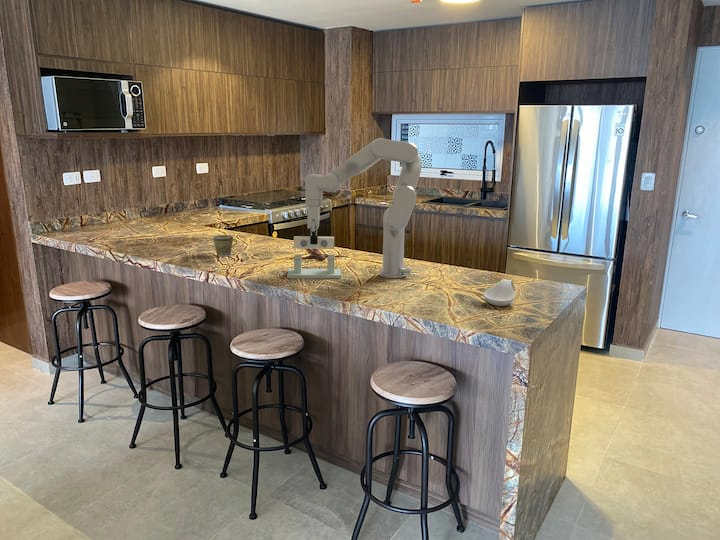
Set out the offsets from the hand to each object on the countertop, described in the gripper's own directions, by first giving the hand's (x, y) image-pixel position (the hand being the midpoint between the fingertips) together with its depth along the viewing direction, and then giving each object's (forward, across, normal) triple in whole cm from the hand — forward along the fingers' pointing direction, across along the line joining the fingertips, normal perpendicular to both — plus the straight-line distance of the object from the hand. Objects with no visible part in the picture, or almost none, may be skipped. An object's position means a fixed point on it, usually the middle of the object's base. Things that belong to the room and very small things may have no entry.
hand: (314, 243), depth 246 cm
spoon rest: (+15, +37, +76) cm, 86 cm away
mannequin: (+16, -42, 0) cm, 45 cm away
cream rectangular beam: (+2, 0, 0) cm, 2 cm away
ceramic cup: (+16, -39, -47) cm, 63 cm away
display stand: (+15, 0, 0) cm, 15 cm away
